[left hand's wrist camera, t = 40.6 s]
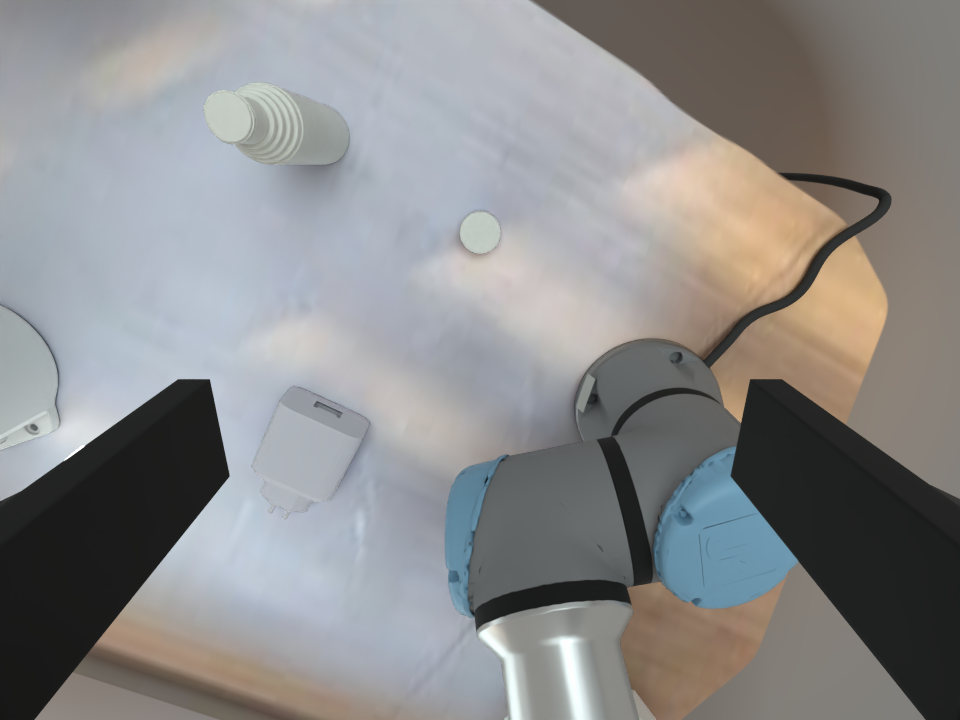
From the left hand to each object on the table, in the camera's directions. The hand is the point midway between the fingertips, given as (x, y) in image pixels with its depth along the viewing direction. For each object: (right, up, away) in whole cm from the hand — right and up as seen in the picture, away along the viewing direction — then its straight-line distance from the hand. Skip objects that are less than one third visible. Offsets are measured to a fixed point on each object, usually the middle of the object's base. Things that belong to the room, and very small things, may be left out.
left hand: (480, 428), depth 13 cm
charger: (-20, -9, +46) cm, 51 cm away
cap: (0, +14, +35) cm, 38 cm away
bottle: (-14, +22, +34) cm, 43 cm away
